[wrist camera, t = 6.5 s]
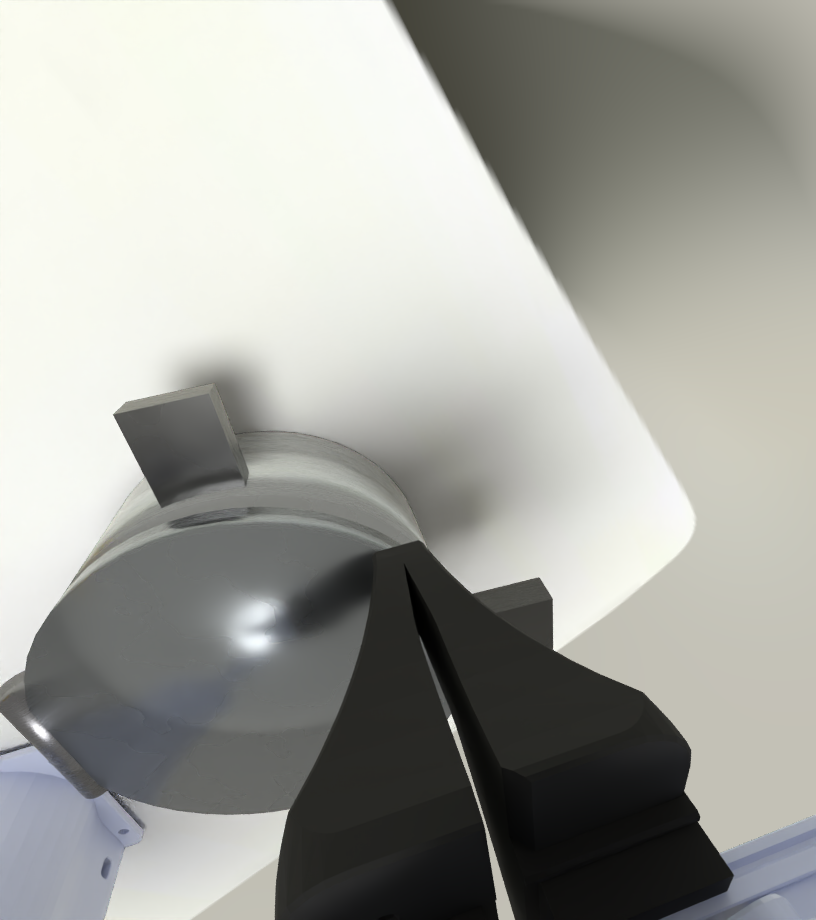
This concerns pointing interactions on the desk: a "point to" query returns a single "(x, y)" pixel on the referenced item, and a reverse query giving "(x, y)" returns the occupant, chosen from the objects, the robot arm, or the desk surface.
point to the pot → (242, 471)
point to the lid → (213, 658)
